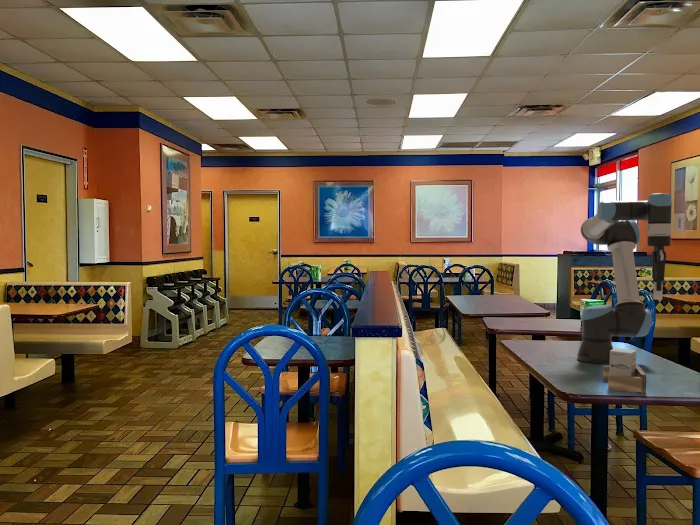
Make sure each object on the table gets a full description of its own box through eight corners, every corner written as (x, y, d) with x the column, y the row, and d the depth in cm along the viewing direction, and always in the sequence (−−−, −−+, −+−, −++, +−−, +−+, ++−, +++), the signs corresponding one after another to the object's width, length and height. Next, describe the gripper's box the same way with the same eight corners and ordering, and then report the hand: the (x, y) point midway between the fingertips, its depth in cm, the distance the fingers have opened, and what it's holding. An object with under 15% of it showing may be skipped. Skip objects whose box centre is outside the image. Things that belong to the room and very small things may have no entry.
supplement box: (608, 385, 203) (608, 350, 203) (614, 381, 209) (614, 347, 209) (630, 389, 199) (631, 352, 198) (636, 385, 204) (637, 349, 204)
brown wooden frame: (603, 379, 213) (603, 362, 213) (637, 381, 210) (637, 364, 209) (608, 390, 197) (608, 372, 197) (645, 393, 194) (646, 374, 193)
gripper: (644, 235, 220) (643, 297, 221) (651, 235, 207) (649, 300, 208) (666, 235, 217) (665, 298, 218) (674, 235, 205) (673, 301, 206)
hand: (657, 299), depth 213 cm, fingers closed
